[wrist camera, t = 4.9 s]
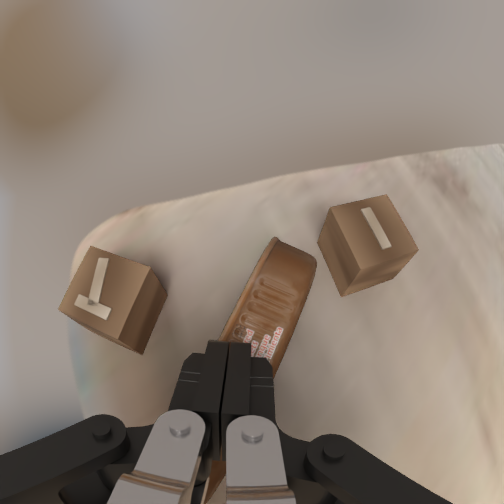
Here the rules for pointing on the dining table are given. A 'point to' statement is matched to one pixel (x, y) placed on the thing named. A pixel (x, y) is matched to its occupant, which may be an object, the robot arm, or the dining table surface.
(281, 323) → the tin
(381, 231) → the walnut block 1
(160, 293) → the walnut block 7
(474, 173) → the dining table surface
